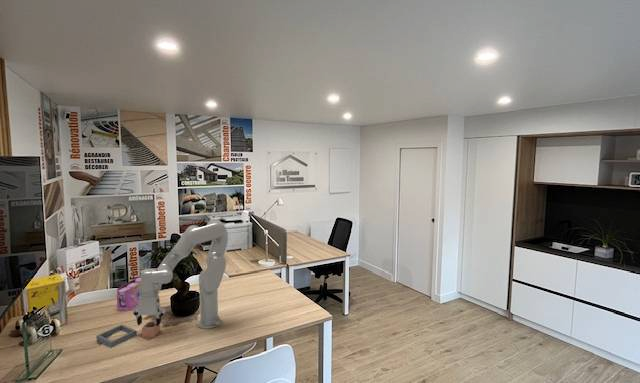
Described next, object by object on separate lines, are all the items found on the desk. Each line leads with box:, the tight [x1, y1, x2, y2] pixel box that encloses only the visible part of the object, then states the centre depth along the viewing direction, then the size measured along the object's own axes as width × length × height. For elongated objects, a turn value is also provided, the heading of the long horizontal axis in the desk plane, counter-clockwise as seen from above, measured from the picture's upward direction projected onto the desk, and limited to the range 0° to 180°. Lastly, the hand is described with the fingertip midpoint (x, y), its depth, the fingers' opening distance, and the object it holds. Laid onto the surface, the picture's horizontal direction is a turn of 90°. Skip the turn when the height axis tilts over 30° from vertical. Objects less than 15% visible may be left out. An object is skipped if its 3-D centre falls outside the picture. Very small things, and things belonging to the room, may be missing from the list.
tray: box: [95, 324, 138, 348], centre depth 172 cm, size 13×13×4 cm
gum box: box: [116, 275, 141, 312], centre depth 214 cm, size 24×8×14 cm, turn 175°
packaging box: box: [22, 273, 69, 327], centre depth 186 cm, size 16×16×25 cm
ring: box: [141, 321, 161, 338], centre depth 177 cm, size 6×8×5 cm
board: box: [137, 321, 165, 341], centre depth 176 cm, size 9×9×7 cm
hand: (149, 324), depth 175 cm, fingers open, 9 cm apart
